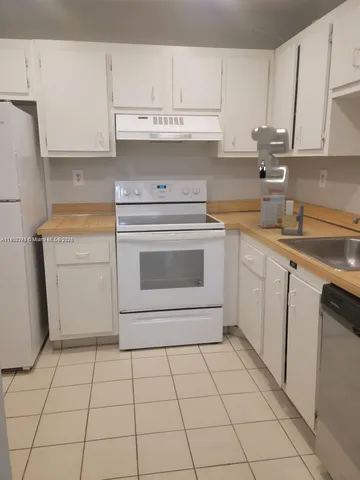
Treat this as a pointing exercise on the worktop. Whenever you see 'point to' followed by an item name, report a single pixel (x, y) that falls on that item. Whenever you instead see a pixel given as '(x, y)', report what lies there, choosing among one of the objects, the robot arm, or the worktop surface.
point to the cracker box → (272, 211)
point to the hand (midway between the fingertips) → (262, 178)
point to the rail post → (289, 207)
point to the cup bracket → (293, 223)
